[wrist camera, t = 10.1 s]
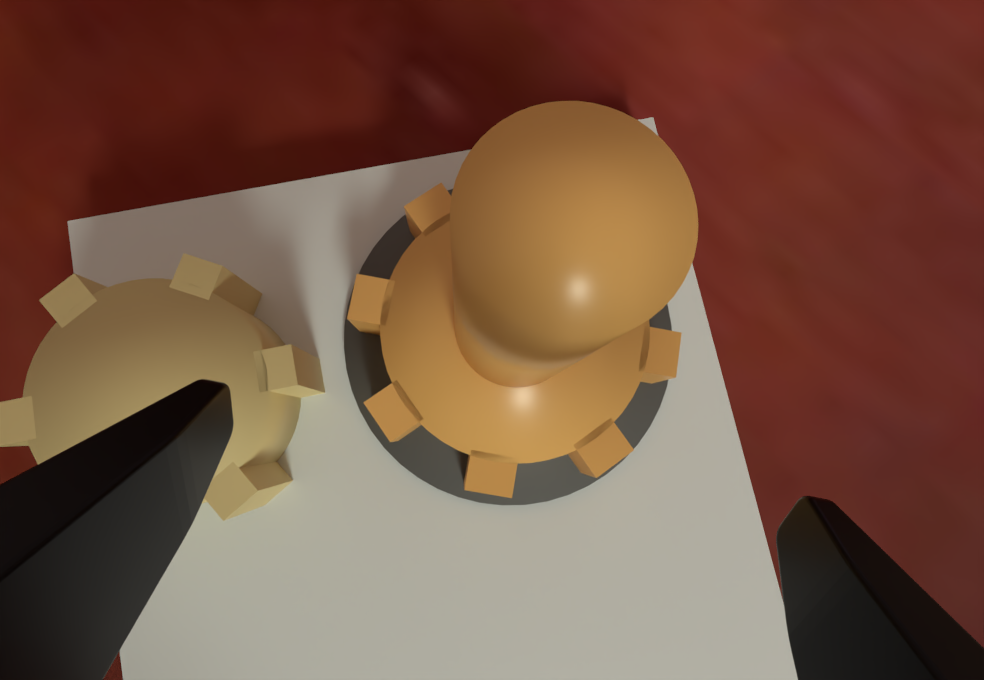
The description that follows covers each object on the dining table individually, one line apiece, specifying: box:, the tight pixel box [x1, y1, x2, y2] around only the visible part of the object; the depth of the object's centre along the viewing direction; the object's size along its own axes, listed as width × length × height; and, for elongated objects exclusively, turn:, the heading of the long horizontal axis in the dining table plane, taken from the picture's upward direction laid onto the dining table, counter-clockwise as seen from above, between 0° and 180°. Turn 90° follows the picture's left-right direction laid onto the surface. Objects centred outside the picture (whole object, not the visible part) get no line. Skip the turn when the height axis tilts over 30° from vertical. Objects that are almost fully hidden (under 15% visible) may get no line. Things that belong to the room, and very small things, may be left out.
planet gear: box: [347, 101, 698, 498], centre depth 13 cm, size 9×9×10 cm
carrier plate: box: [0, 117, 798, 680], centre depth 16 cm, size 18×18×4 cm
